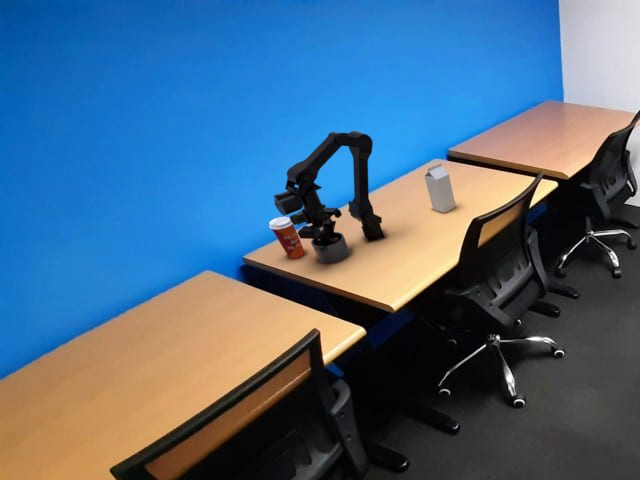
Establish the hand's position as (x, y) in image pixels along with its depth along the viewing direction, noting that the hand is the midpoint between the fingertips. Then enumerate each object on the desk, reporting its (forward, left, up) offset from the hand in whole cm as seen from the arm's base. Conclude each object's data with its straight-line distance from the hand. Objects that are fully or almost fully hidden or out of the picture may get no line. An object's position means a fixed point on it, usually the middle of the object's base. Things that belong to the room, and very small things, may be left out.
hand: (329, 243), depth 172 cm
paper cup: (+13, -8, -5) cm, 16 cm away
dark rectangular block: (0, 0, -1) cm, 1 cm away
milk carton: (-47, -19, -5) cm, 51 cm away
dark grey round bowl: (0, 0, -5) cm, 5 cm away
